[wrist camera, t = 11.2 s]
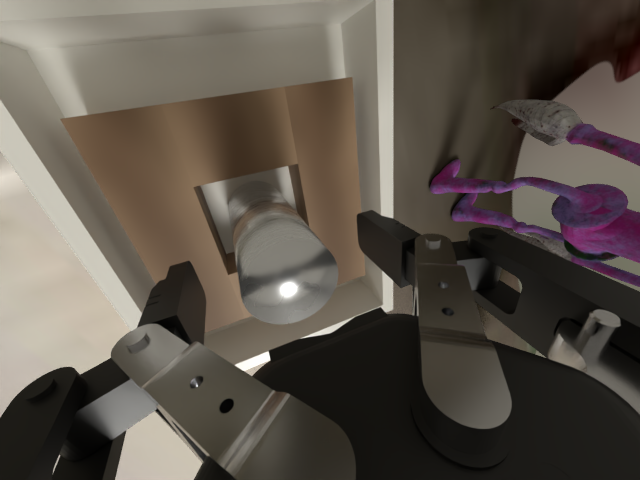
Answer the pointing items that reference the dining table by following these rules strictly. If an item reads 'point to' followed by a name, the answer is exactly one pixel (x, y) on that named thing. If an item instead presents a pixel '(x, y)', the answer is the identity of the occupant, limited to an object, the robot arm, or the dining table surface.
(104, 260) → the box
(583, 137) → the toy
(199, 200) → the bore plate
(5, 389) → the dining table surface
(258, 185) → the peg
